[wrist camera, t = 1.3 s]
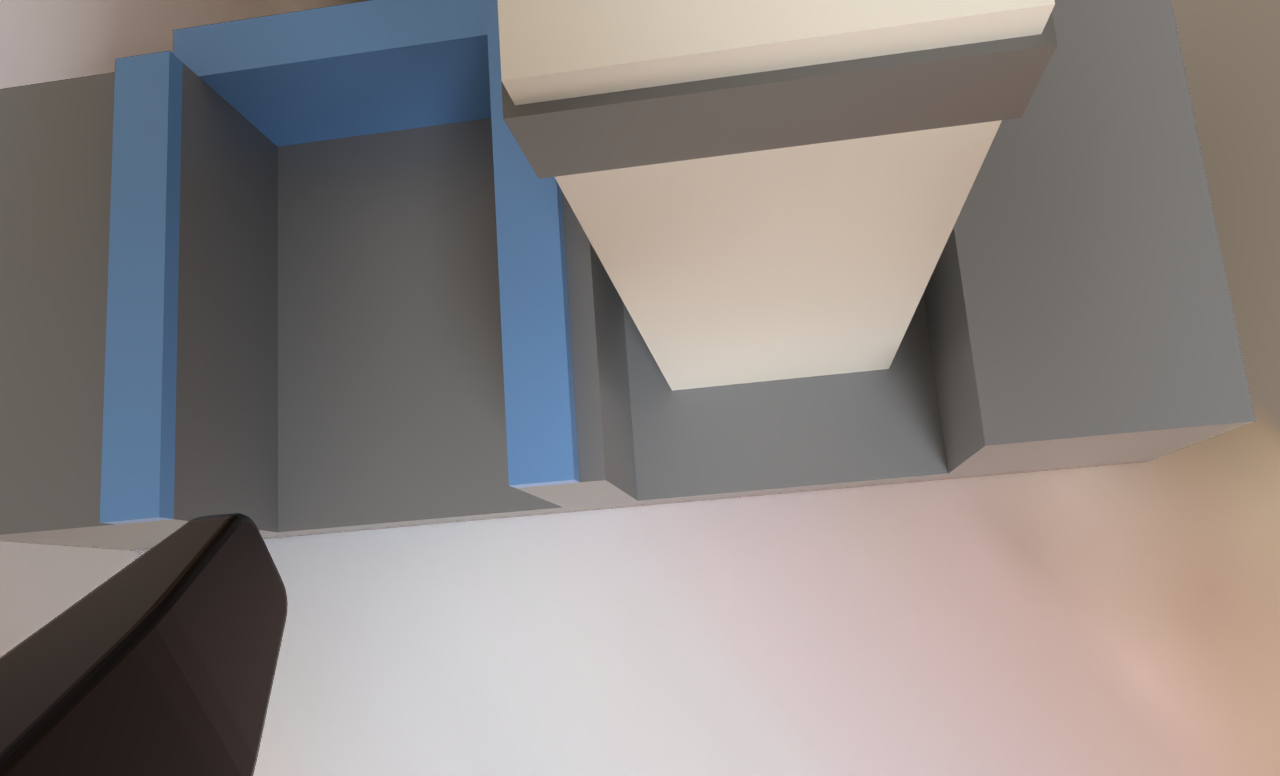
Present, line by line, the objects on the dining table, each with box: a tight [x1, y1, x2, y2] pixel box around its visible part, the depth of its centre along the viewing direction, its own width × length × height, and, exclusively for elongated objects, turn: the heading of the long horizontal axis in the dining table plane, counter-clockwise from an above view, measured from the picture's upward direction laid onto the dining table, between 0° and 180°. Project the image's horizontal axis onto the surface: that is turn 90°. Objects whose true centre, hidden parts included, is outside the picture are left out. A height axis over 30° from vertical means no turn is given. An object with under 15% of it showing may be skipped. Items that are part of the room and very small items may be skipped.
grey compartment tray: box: [0, 0, 1255, 550], centre depth 19 cm, size 20×9×5 cm, turn 94°
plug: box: [497, 0, 1057, 391], centre depth 14 cm, size 4×4×12 cm
